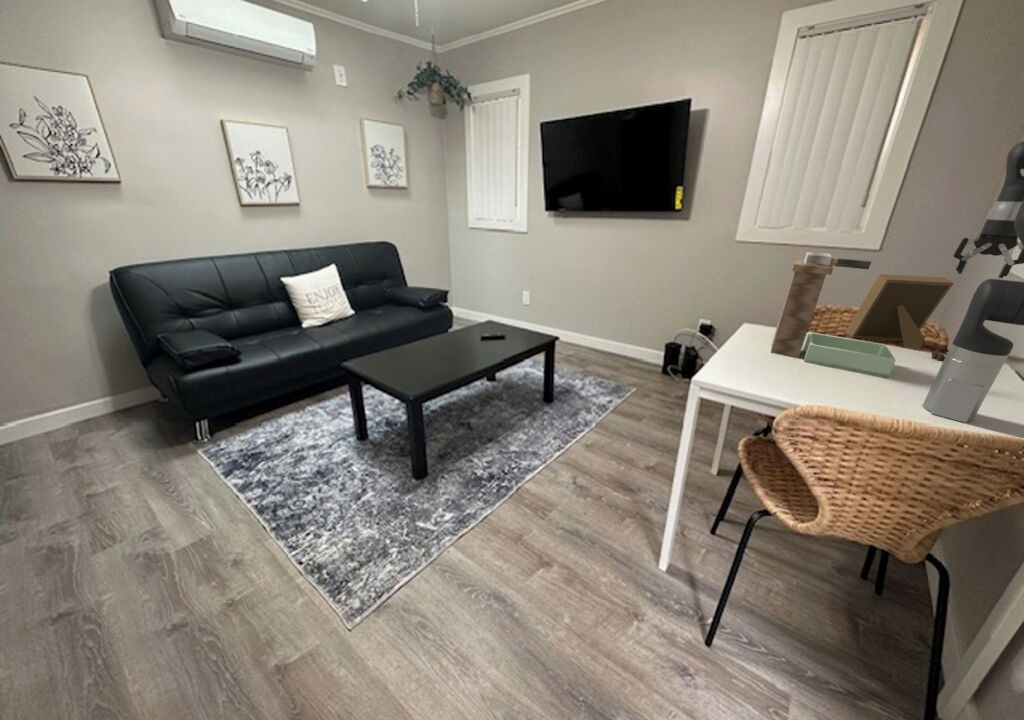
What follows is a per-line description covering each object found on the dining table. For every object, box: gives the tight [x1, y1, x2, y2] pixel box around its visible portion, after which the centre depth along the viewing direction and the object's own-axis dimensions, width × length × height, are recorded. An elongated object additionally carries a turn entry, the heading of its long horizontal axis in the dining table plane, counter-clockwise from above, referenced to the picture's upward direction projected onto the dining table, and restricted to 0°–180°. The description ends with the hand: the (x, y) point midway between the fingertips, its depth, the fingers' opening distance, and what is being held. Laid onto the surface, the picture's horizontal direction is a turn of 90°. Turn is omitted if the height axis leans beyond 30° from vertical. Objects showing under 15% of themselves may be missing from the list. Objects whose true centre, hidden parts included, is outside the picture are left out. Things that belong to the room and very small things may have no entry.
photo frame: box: [845, 273, 955, 351], centre depth 148 cm, size 15×22×25 cm
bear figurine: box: [930, 347, 949, 362], centre depth 136 cm, size 18×4×14 cm
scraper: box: [804, 251, 872, 270], centre depth 125 cm, size 16×10×3 cm, turn 57°
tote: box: [802, 331, 896, 379], centre depth 131 cm, size 21×16×6 cm
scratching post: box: [770, 258, 834, 359], centre depth 134 cm, size 10×14×30 cm
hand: (979, 275), depth 122 cm, fingers open, 8 cm apart
